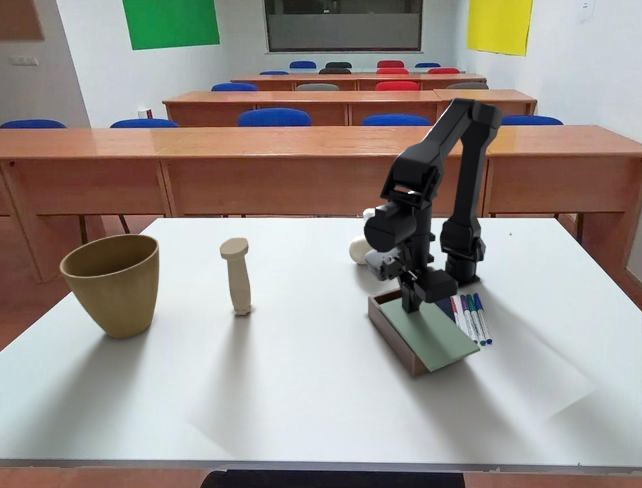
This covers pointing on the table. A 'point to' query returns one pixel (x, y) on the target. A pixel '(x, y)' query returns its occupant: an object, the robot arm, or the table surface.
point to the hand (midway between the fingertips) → (410, 304)
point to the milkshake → (368, 214)
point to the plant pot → (116, 281)
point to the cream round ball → (359, 249)
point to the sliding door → (428, 331)
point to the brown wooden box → (394, 331)
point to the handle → (237, 273)
